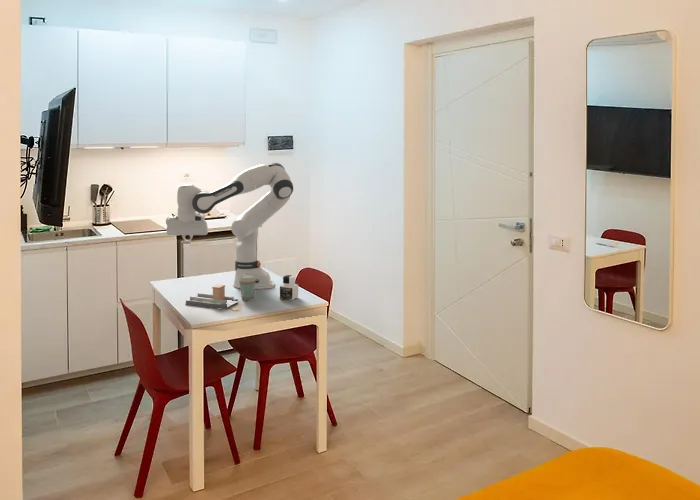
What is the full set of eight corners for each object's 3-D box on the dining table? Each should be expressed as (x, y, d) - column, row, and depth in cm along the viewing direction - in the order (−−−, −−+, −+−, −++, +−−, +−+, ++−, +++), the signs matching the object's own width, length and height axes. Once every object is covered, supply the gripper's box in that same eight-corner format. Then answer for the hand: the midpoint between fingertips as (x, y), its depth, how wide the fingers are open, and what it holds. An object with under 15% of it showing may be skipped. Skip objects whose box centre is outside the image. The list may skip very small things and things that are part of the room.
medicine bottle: (279, 299, 317) (279, 276, 315) (286, 296, 323) (285, 273, 321) (292, 301, 314) (292, 278, 312) (298, 297, 321) (298, 275, 319)
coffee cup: (241, 296, 321) (241, 274, 319) (257, 297, 320) (257, 274, 318) (237, 301, 313) (236, 278, 310) (253, 301, 312) (253, 278, 310)
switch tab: (212, 301, 305) (212, 286, 303) (218, 298, 309) (217, 284, 308) (219, 302, 303) (219, 287, 302) (225, 299, 308) (225, 285, 307)
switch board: (185, 304, 306) (185, 297, 305) (199, 298, 317) (199, 291, 316) (225, 309, 299) (224, 302, 298) (237, 302, 310) (237, 296, 309)
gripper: (164, 217, 310) (165, 244, 313) (206, 217, 312) (207, 244, 315) (166, 215, 316) (167, 242, 319) (208, 215, 318) (208, 242, 321)
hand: (187, 243), depth 317 cm, fingers closed
